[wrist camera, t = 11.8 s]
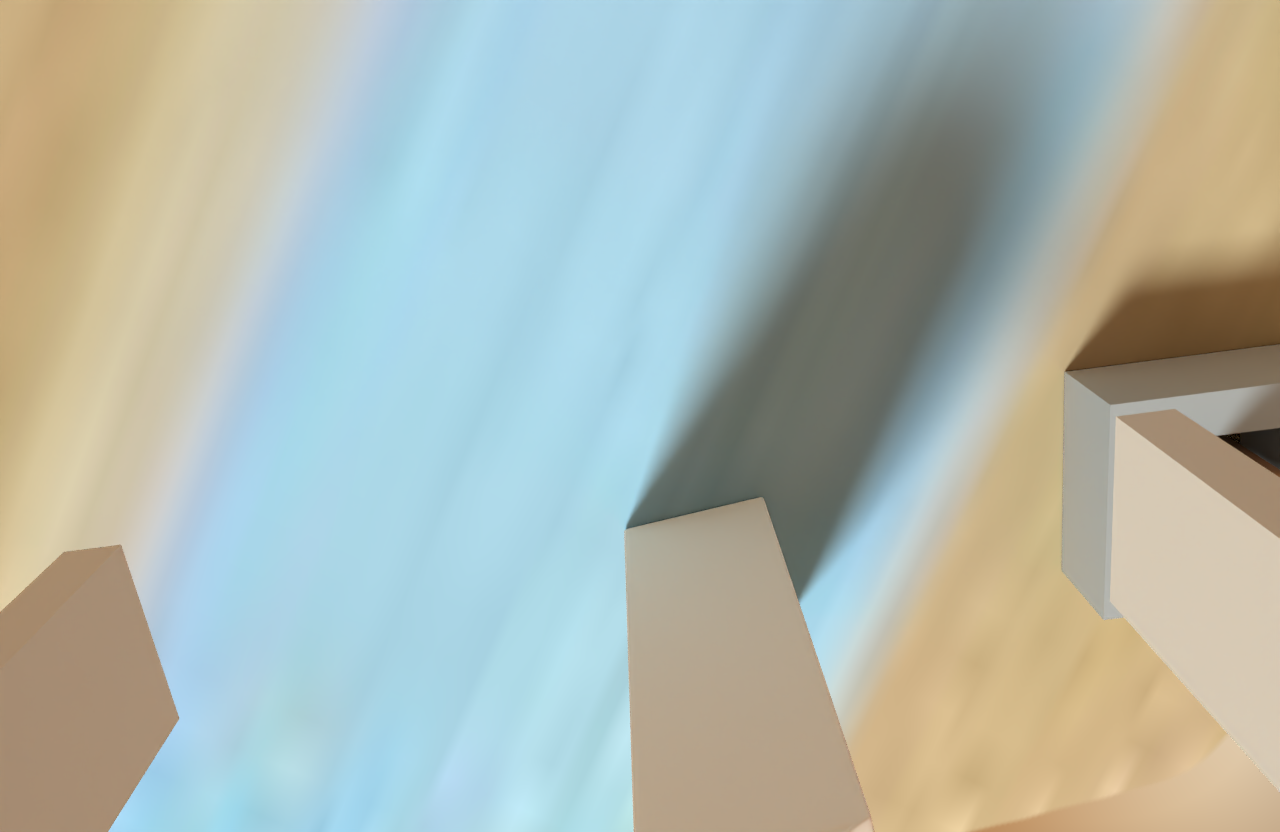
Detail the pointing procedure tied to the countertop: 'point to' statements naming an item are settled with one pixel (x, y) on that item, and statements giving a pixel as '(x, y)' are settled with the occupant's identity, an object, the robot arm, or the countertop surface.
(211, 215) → the countertop surface
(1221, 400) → the socket block
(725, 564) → the milk
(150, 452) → the countertop surface
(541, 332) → the countertop surface
